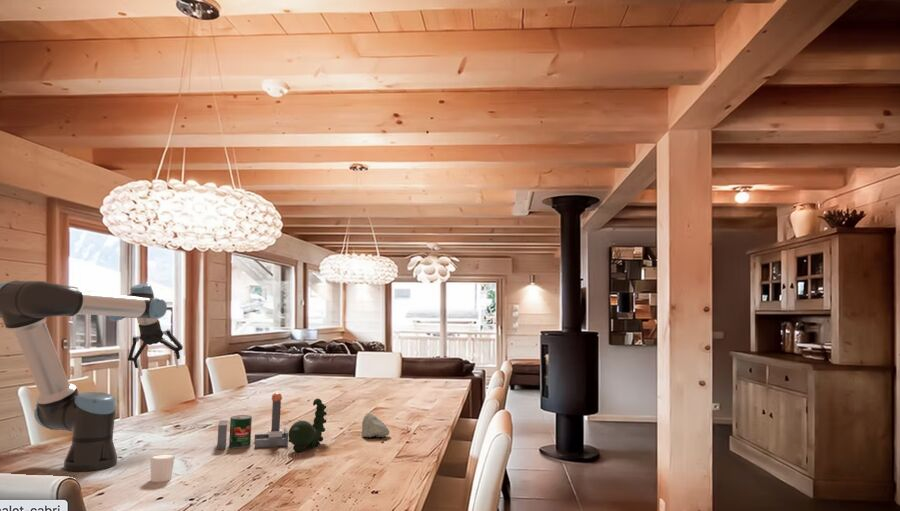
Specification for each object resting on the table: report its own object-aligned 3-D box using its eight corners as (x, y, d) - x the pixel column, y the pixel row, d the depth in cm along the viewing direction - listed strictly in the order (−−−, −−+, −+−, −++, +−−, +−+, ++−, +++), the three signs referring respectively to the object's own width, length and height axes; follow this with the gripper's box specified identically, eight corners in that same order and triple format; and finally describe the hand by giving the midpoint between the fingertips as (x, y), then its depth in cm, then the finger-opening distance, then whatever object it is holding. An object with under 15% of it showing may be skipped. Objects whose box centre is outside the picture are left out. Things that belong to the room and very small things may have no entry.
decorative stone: (351, 436, 244) (359, 419, 240) (363, 423, 254) (371, 406, 250) (376, 454, 242) (385, 437, 238) (388, 439, 252) (396, 423, 248)
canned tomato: (241, 442, 230) (242, 414, 231) (254, 445, 226) (256, 416, 227) (224, 446, 224) (226, 417, 225) (238, 449, 220) (239, 419, 221)
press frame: (287, 446, 226) (288, 422, 226) (216, 450, 217) (218, 425, 218) (285, 440, 236) (286, 417, 237) (218, 443, 227) (219, 420, 228)
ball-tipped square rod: (281, 444, 227) (284, 393, 229) (268, 445, 225) (270, 394, 227) (280, 440, 233) (283, 391, 235) (267, 441, 232) (270, 391, 234)
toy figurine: (308, 445, 235) (278, 453, 212) (312, 397, 239) (283, 400, 215) (330, 446, 233) (301, 455, 209) (334, 398, 237) (306, 401, 213)
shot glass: (167, 475, 184) (168, 452, 184) (177, 479, 179) (179, 456, 180) (144, 479, 179) (146, 456, 179) (154, 484, 174) (156, 460, 175)
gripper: (182, 312, 241) (192, 360, 246) (115, 325, 232) (127, 374, 237) (182, 318, 234) (192, 366, 239) (112, 331, 225) (124, 381, 230)
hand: (159, 370), depth 238 cm, fingers open, 13 cm apart
